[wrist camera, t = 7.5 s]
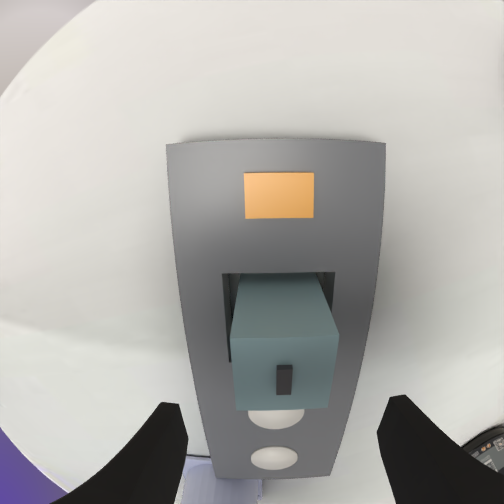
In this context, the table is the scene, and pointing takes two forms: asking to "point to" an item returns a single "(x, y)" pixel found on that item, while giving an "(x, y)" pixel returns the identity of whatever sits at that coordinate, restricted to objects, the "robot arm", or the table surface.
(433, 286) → the table surface
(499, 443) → the supplement container
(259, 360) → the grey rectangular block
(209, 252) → the control panel
